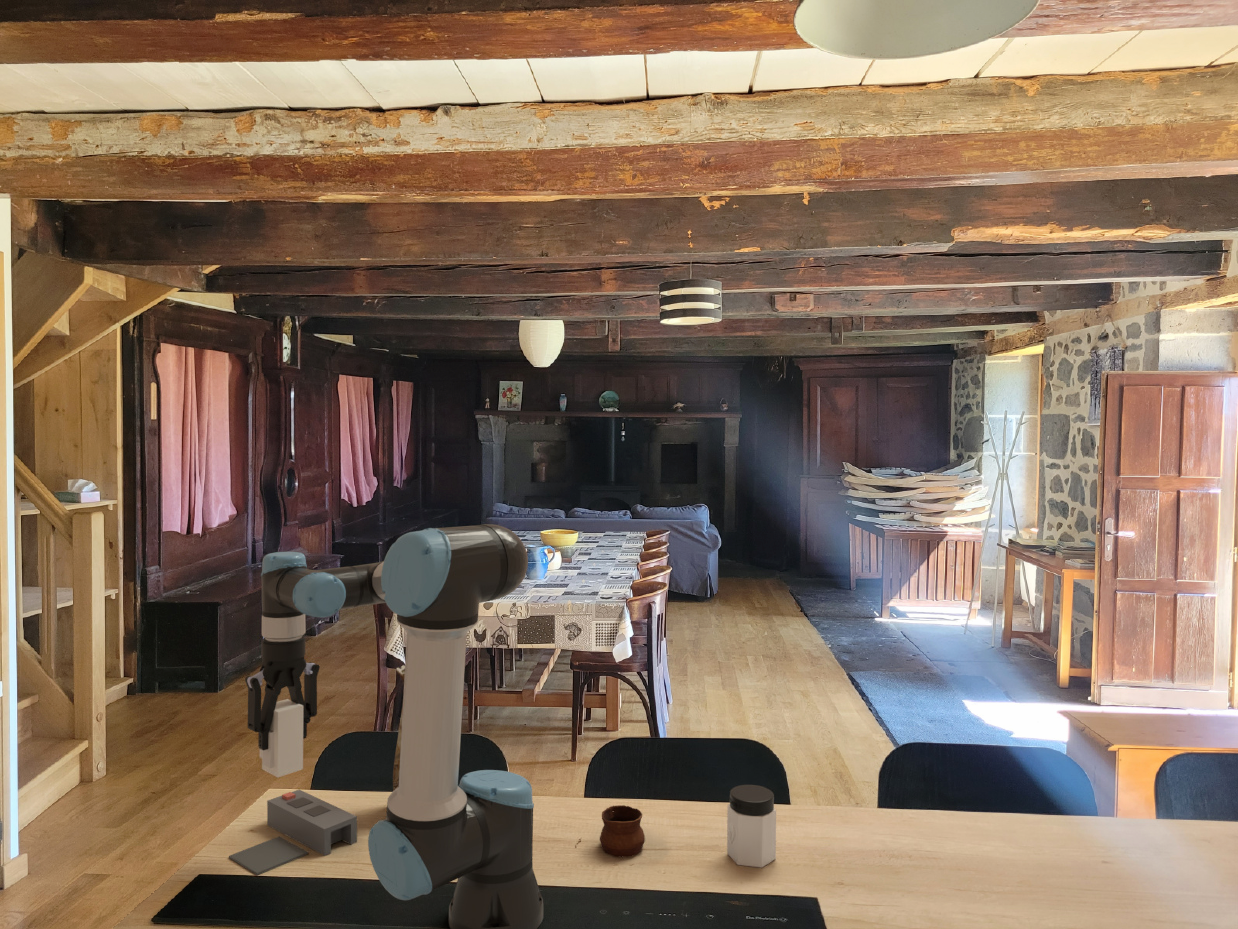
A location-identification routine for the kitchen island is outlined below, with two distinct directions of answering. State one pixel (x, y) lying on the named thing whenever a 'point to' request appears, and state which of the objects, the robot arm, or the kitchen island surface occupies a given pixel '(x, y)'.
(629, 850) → the ceramic pot
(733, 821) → the jar
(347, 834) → the power strip
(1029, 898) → the kitchen island surface
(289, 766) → the charger
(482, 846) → the robot arm
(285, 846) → the mat
